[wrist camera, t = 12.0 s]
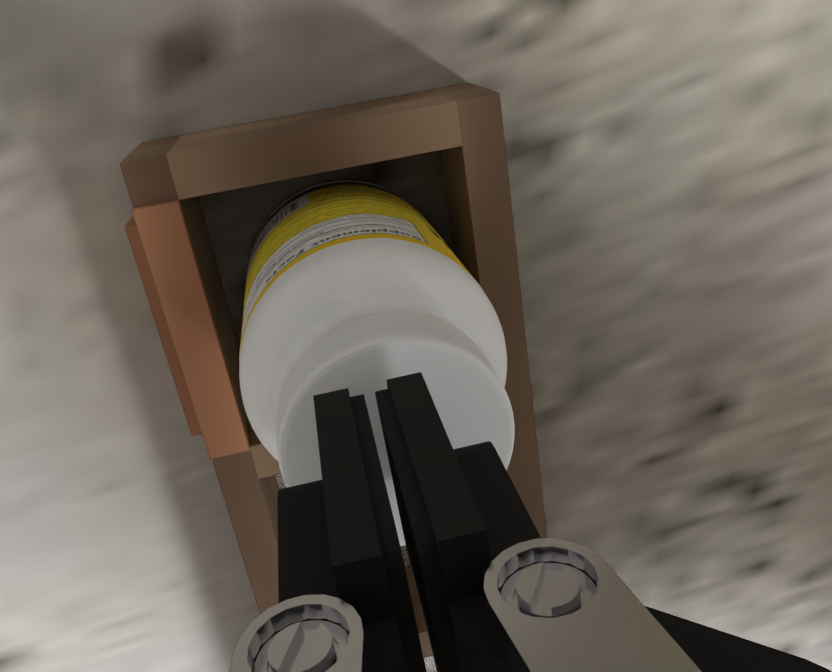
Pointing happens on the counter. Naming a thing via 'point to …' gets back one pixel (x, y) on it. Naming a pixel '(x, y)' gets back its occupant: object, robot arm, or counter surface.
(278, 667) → the robot arm
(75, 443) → the counter surface
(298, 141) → the box
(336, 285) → the supplement bottle
